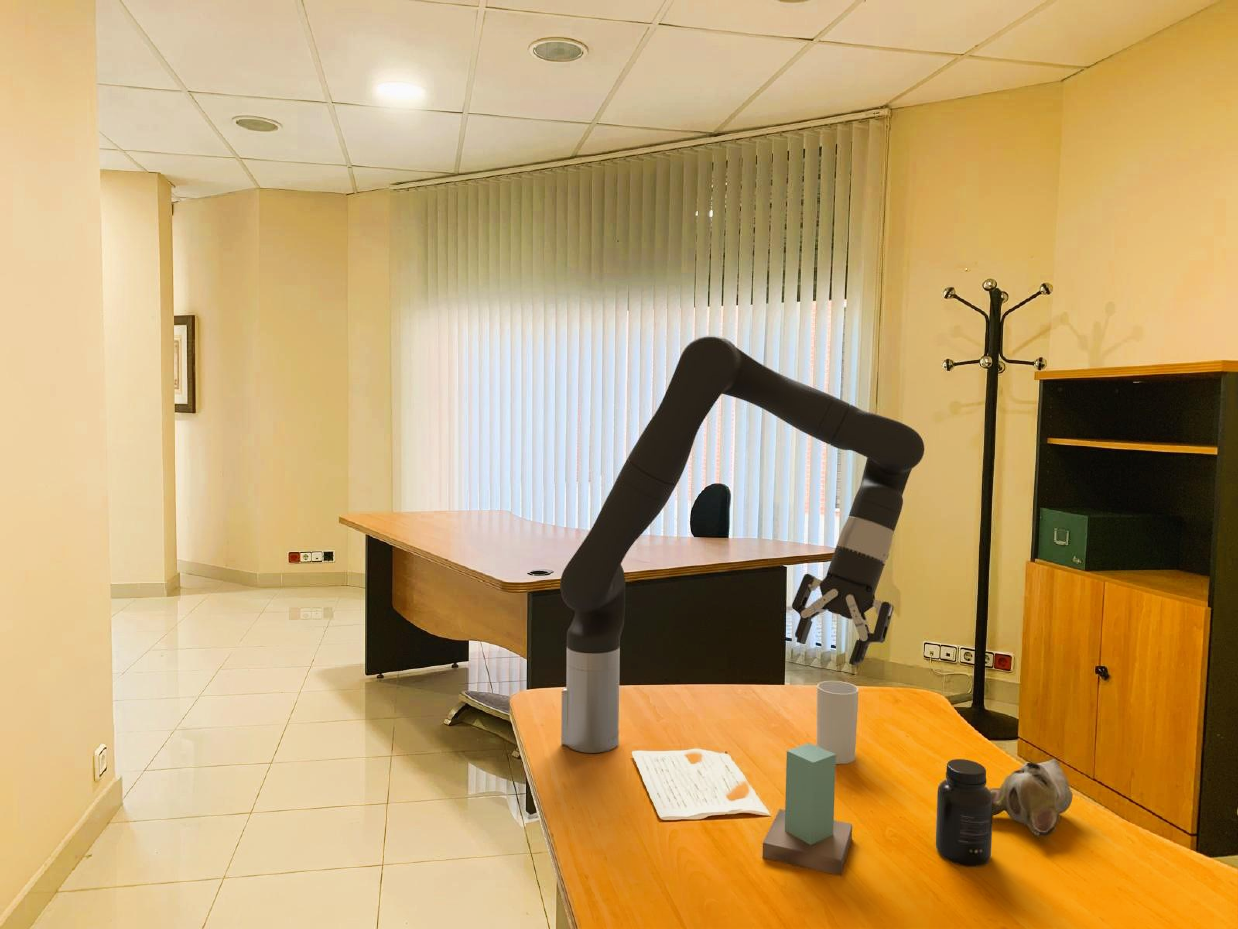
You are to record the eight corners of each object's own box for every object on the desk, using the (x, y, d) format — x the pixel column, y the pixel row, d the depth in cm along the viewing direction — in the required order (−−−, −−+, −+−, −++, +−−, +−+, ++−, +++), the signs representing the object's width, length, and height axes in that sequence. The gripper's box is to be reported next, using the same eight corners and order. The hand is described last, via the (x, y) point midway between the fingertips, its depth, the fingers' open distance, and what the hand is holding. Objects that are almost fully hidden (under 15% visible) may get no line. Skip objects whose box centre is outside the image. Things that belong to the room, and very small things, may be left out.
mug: (849, 768, 134) (851, 697, 134) (809, 759, 138) (811, 689, 137) (866, 747, 143) (868, 680, 142) (828, 739, 147) (830, 673, 146)
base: (762, 857, 107) (762, 842, 107) (779, 822, 116) (779, 809, 116) (840, 875, 103) (841, 860, 103) (851, 838, 112) (852, 824, 112)
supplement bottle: (926, 841, 112) (929, 755, 111) (974, 840, 112) (977, 754, 112) (950, 869, 105) (954, 778, 104) (1001, 867, 106) (1005, 776, 105)
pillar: (784, 830, 110) (786, 750, 110) (807, 821, 113) (809, 743, 112) (810, 845, 107) (813, 762, 106) (833, 834, 109) (835, 754, 109)
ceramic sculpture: (1093, 760, 118) (1043, 795, 109) (1092, 818, 119) (1042, 857, 110) (1019, 737, 126) (967, 768, 117) (1019, 791, 127) (967, 826, 118)
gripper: (810, 533, 126) (774, 634, 124) (901, 563, 117) (864, 671, 116) (825, 542, 132) (792, 638, 131) (913, 570, 123) (878, 673, 122)
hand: (826, 653), depth 123 cm, fingers open, 8 cm apart
